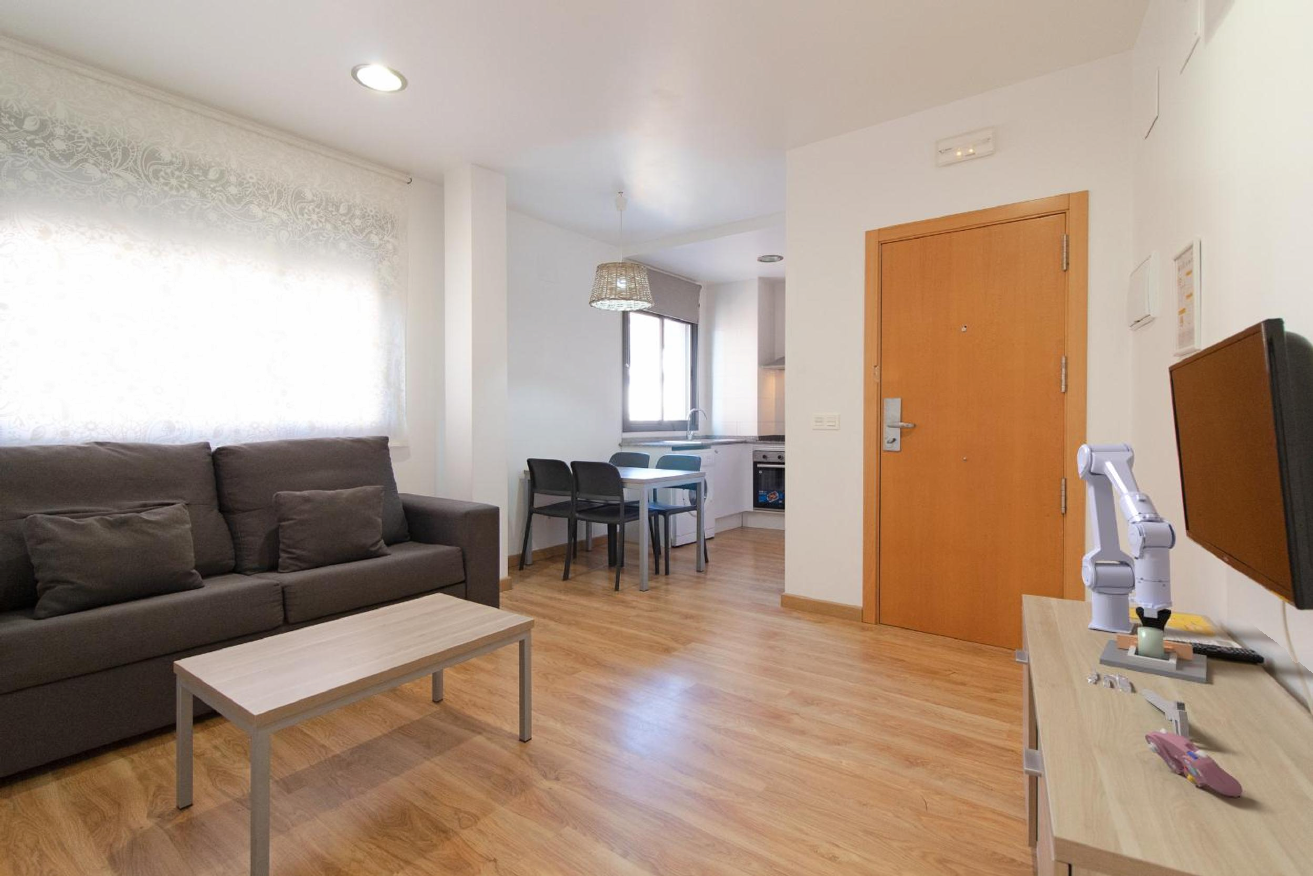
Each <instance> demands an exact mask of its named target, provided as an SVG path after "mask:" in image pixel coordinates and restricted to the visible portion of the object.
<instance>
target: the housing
mask: <svg viewBox="0 0 1313 876" xmlns="http://www.w3.org/2000/svg"><path fill="white" fill-rule="evenodd" d="M1207 659H1208V658H1207V655H1204V654H1198V653H1194V652H1193V660H1187V659H1181V658H1177V653H1174V652H1172V653H1170V652H1164V660H1160V659H1155V658H1149V657H1143V656H1139V655H1138V647H1135V646H1132V645H1131V646H1130V648H1129V650H1128V649H1123V648H1117V640H1113V639H1108V640H1107V643H1106V644H1105V647H1104V649H1103V651H1102V653H1101V655H1100V657H1099V664H1100V665H1104V666H1111V667H1116V668H1121V669H1126V670H1132V671H1136V672H1141V673H1147V674H1152V675H1157V676H1163V677H1167V678H1174V679H1179V680H1182V681H1183V680H1184V681H1189V682H1195V683H1198V684H1199V683H1200V684H1205V685H1206V684H1207V665H1208V664H1207V661H1208V660H1207Z"/></svg>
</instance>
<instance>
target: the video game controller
mask: <svg viewBox="0 0 1313 876" xmlns="http://www.w3.org/2000/svg"><path fill="white" fill-rule="evenodd" d="M1144 738H1145V740H1146V743H1147V745H1148V748H1149V750H1150V751H1151V752H1152V753H1154V754H1157V755H1158V756H1160V758H1161V759H1162V760H1163V762H1164V763H1165V764H1166V766H1168V768H1169V769H1170V770H1171V771H1173V770H1174V771H1175V772H1174V771H1173V772H1174V773H1176V772H1177V773H1178V775H1180V774H1182V773H1184V775H1185V777H1186V779H1187V781H1189V783H1191V784H1193V783H1194V784H1195V785H1197V786H1198V787H1197V786H1196V787H1197V788H1203V787H1204V786H1205V785H1208V786H1209V787H1211V789H1213V790H1216V791H1217V792H1218V793H1220V794H1223V795H1225V796H1227V797H1230V796H1234V797H1233V798H1239V797H1238V796H1241V795H1242V793H1243V788H1242V785H1241V783H1240V782H1239V780H1237V779H1236V778H1235V777H1234V776H1232V775H1231V774H1230V773H1228V772H1227V771H1225V770H1224V769H1223V768H1222V767H1220V765H1219V764H1218V763H1217V762H1216V761H1215V760H1214V759H1213V758H1212V757H1211V756H1209V755H1208V754H1207V753H1206V752H1205V751H1204V750H1202V749H1200V748H1199V747H1197V745H1195V744H1194V742H1192V741H1191V739H1190V738H1189V739H1187V738H1185V737H1183V736H1181V735H1178V734H1175V732H1174V733H1173V732H1168V731H1167V730H1166V729H1165V728H1163V727H1162V728H1161V729H1160V730H1154V731H1153V730H1152V731H1150V732H1149V733H1146V734H1145V735H1144ZM1177 773H1176V774H1177ZM1194 784H1193V785H1194ZM1195 785H1194V786H1195Z"/></svg>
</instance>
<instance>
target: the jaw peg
mask: <svg viewBox="0 0 1313 876" xmlns="http://www.w3.org/2000/svg"><path fill="white" fill-rule="evenodd" d="M1137 636H1138V655H1139V656H1143V657H1149V658H1155V659H1160V660H1164V633H1163V631H1162V630H1160V629H1156V628H1151V627H1143V626H1140V627H1137Z"/></svg>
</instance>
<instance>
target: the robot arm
mask: <svg viewBox="0 0 1313 876" xmlns="http://www.w3.org/2000/svg"><path fill="white" fill-rule="evenodd" d="M1134 452H1135V451H1134V450H1133V447H1131V445H1130V444H1129V443H1117V444H1113V443H1112V444H1111V443H1110V444H1108V443H1107V444H1106V443H1105V444H1104V443H1103V444H1087V443H1084V444H1081V446H1080V447H1079V449H1078V451H1077V456H1076V461H1077V468H1078V470H1077V471H1078V474H1079V479H1081V480H1083V481H1086V486H1087V493H1088V499H1089V500H1088V501H1089V509H1090V511H1089V512H1090V519H1091V527H1092V536H1093V542H1094V543H1093V544H1094V545H1093V546H1094V549H1092V550H1090V551H1089V552H1088V553H1087V554H1085V555H1084V556H1083V557H1082V559H1081V560H1082V562H1081V563H1082V567H1081V578H1082V582H1083V583H1084V585H1085V586H1086V587H1087V588H1088V589H1090V590H1091V617H1092V619H1091V621H1090V623H1089V624H1088V626H1087V627H1088V629H1093V630H1099V631H1104V632H1112V633H1116V634H1117V633H1121V634H1127V635H1132V632H1133V629H1134V628H1135V627H1134V626H1135V622H1130V619H1131V618H1130V602H1133V603H1135V604H1136V605H1138V606H1137V607H1135V614H1136V615H1137V617H1138V619H1139V621H1140V622H1141V625H1142V627H1151V628H1156V629H1160V630H1162V631H1163V634H1164V632H1165V627H1166V624H1167V623H1168V621H1169V619H1171V616H1172V610H1171V609H1169V608H1172V607H1173V602H1172V593H1171V592H1172V590H1171V561H1170V558H1171V557H1170V555H1171V554H1170V550H1171V549H1173V548H1174V547H1175V546H1176V542H1177V536H1176V530H1175V528H1174V526H1173V524H1172V523H1171V522H1170V521H1168V520H1167V519H1166V518H1165V517H1161V516H1160V514H1159V513H1158V510H1157V509H1156V506H1155V505H1154V503H1153V502H1152V499H1151V498H1150V496H1149V495H1148V494H1147V493H1144V492H1141V491H1140V488H1139V486H1138V483H1137V481H1136V478H1135V475H1134V472H1133V470H1132V469H1133V467H1134V462H1135V453H1134ZM1113 487H1114V488H1115V490H1116V492H1117V493H1118V495H1119V497H1120V499H1119V500H1118V503H1117V504H1118V507H1119V509H1120V512H1121V514H1122V515H1123V517H1124V519H1125V521H1126V524H1127V525H1128V529H1127V539H1128V542H1129V545H1130V553H1131V555H1132V556H1134V557H1132V556H1131V555H1129V554H1127V553H1126V552H1124V551H1123V550H1121V547H1120V546H1121V545H1120V539H1119V531H1118V522H1117V513H1116V506H1115V497H1114V491H1113ZM1098 561H1099V562H1098ZM1102 561H1103V562H1102ZM1105 561H1106V562H1105ZM1108 561H1109V562H1108ZM1114 562H1115V563H1114ZM1134 590H1135V591H1134ZM1133 591H1134V592H1135V593H1134V594H1135V596H1130V594H1133Z"/></svg>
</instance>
